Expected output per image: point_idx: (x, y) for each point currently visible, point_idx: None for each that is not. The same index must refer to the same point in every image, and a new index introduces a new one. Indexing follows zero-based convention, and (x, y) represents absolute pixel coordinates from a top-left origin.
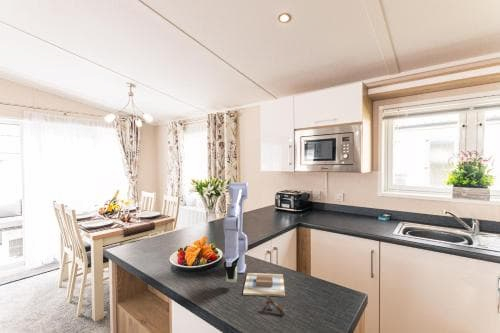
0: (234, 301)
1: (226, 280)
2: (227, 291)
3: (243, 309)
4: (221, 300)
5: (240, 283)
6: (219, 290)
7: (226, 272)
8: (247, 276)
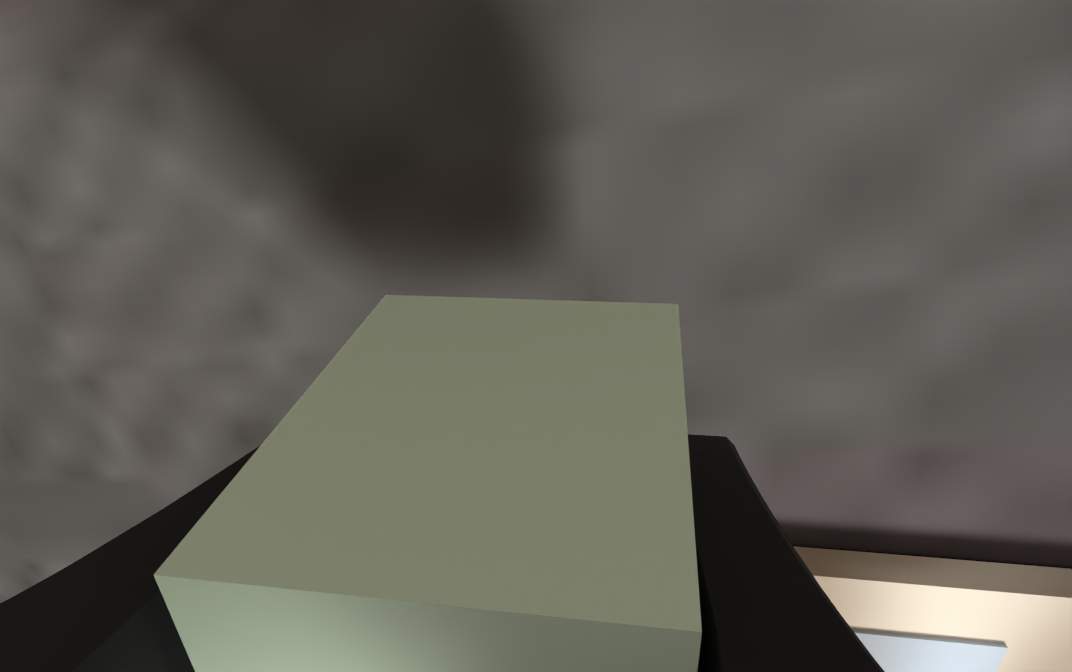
0: (140, 405)
1: (369, 320)
2: (401, 250)
3: (30, 518)
4: (69, 190)
5: (760, 462)
6: (402, 53)
7: (233, 492)
8: (1011, 607)
